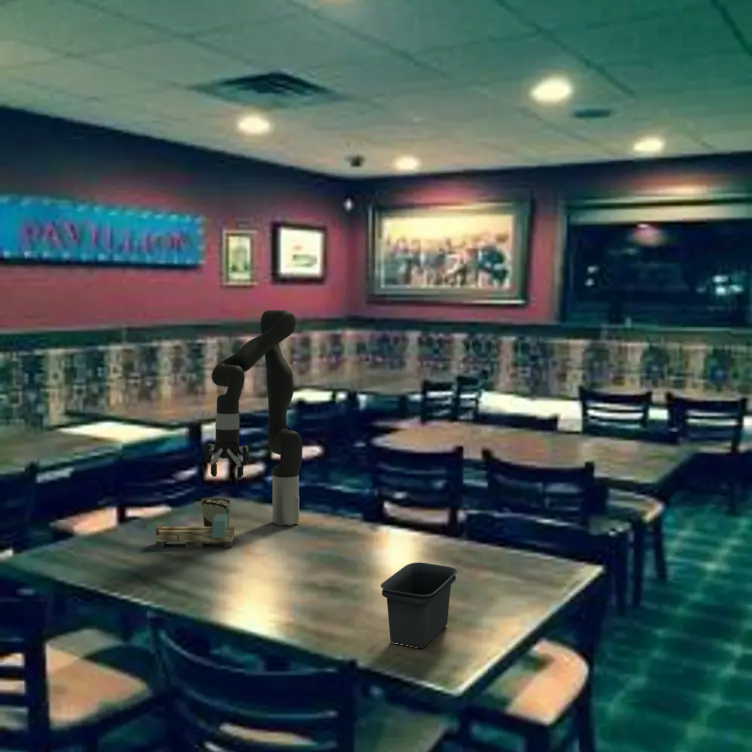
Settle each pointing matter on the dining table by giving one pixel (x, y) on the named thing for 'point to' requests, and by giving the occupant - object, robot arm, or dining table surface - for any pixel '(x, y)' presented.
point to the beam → (191, 536)
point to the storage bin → (418, 602)
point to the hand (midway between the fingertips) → (226, 477)
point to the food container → (214, 509)
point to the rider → (220, 525)
